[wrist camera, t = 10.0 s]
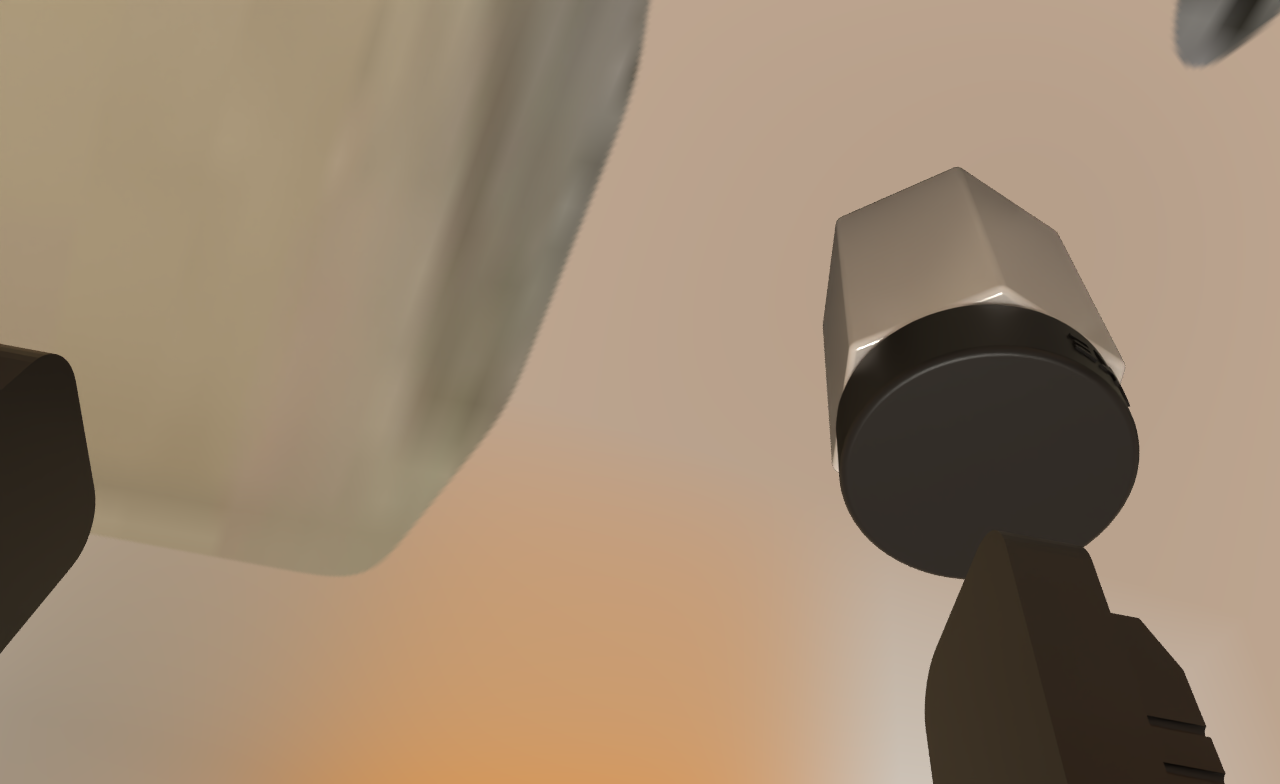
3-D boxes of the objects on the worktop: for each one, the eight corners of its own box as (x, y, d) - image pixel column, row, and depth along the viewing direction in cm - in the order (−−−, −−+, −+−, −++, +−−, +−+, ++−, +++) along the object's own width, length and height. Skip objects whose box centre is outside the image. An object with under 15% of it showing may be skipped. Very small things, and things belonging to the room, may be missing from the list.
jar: (1023, 389, 42) (1098, 605, 32) (812, 374, 43) (822, 581, 33) (1078, 171, 37) (1187, 346, 27) (840, 157, 38) (861, 323, 28)
